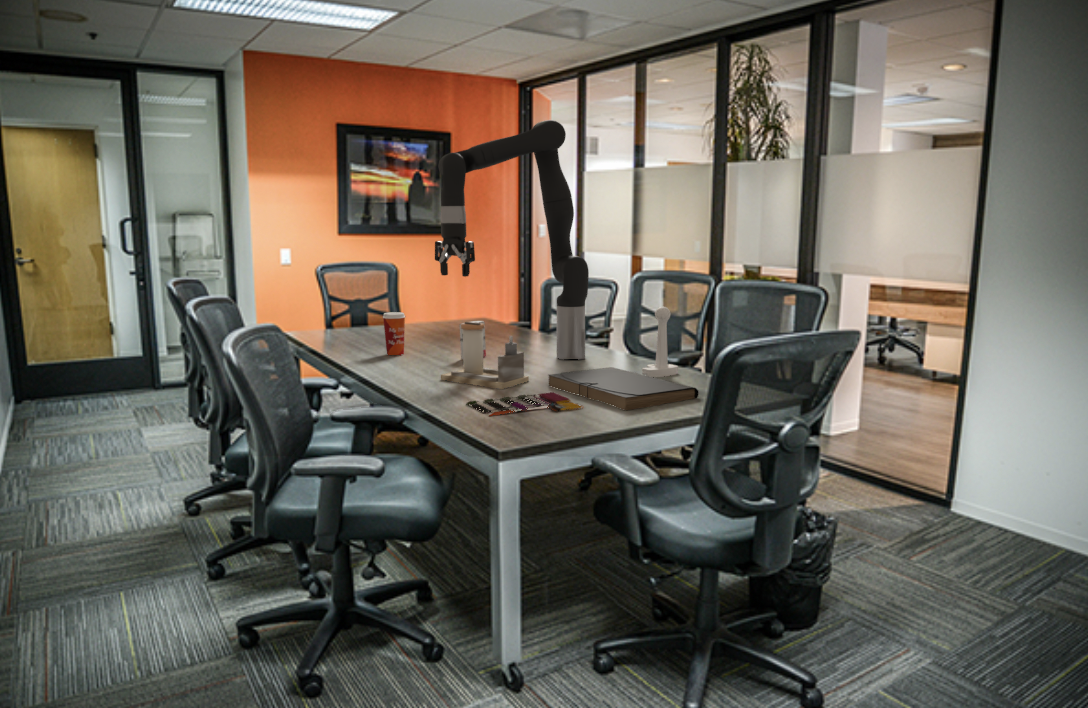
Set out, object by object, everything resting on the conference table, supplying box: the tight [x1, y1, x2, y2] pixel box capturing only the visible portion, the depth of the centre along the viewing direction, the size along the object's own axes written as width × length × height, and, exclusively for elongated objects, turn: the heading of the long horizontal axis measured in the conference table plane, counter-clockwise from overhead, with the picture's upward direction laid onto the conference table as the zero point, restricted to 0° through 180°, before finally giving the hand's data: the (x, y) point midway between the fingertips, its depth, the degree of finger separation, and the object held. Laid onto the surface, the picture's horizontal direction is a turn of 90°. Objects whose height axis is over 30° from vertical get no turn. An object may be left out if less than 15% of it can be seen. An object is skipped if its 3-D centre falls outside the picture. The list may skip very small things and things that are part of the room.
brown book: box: [547, 366, 699, 411], centre depth 200 cm, size 33×4×24 cm
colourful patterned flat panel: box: [465, 391, 583, 417], centre depth 184 cm, size 25×18×3 cm
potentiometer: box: [504, 335, 518, 355], centre depth 207 cm, size 3×3×5 cm
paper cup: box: [382, 311, 406, 356], centre depth 256 cm, size 8×8×14 cm
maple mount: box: [440, 351, 530, 390], centre depth 214 cm, size 22×12×8 cm, turn 55°
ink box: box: [459, 320, 487, 360], centre depth 249 cm, size 9×5×12 cm, turn 154°
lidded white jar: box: [460, 321, 484, 375], centre depth 215 cm, size 7×7×14 cm
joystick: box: [641, 306, 679, 378], centre depth 221 cm, size 11×8×20 cm
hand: (455, 275), depth 231 cm, fingers open, 8 cm apart
